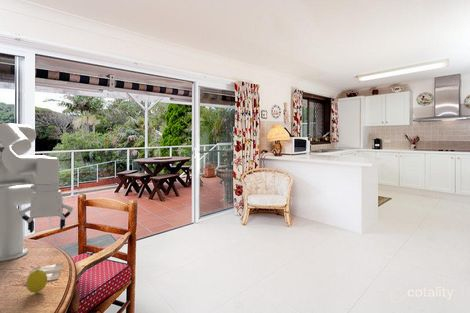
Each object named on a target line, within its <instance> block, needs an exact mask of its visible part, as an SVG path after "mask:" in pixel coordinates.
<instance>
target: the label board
mask: <svg viewBox="0 0 470 313" xmlns="http://www.w3.org/2000/svg"><path fill="white" fill-rule="evenodd" d="M63 265H64V262H59V263H55V264H49V265H43V266H38V267H33V268H32V270H31V271H30V273H29V275H30V274H31V273H32V272H34V271H36V270H42V271H44V272H45V273H46V275H47V283H48V282H53V281H58V280H59V278H60V275H61V271H62V268H63ZM26 283H27V279H26V280H25V282H24V284H23V287H27V286H26Z"/></svg>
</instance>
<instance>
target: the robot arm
mask: <svg viewBox="0 0 470 313" xmlns="http://www.w3.org/2000/svg"><path fill="white" fill-rule="evenodd" d="M36 138H37V131H36V130H35V128H34V127H32V126H31V125H29V124H21V123H8V122H5V123H3V122H2V123H0V148H3V150H2V151H1V150H0V262H5V261H11V260H15V259H17V258H20V257H21V258H22V257H23V256H25V255H26V254H27V253H28V251H29V249H28V248H27V247H24V228H25V227H24V225H25V224H24V222H26V223H27V230H28V231H29V233H30V234H31V233H33V232H34V231H35V221H34V219H38V218H39V219H40V218H41V219H42V218H50V217H51V218H53V217H59V218H60V223H59V229H60V230H63V229H64V228H65V227H66V218H68V217H69V216H70V215H71V213H72V212H73V210H74V207H73V206H70V205H68V204H65V203H64V202H63V201H64V200H63V194H62V190H60V159H59V158H58V157H54V156H48V155H24V154H26V153H28V152H29V151H30V150H31V149H32V143H33V142H34V141H35V140H36ZM28 204H30V206H28V207H25V208H24V209H21V210H20V209H19V208H18V207H19V206H23V205H28ZM64 209H66V210H67V212H65V213H64ZM27 212H29V216H30V217H29V216H28V215H27V214H26V213H27Z"/></svg>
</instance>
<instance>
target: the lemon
mask: <svg viewBox="0 0 470 313" xmlns="http://www.w3.org/2000/svg"><path fill="white" fill-rule="evenodd" d="M30 273H31V272H30ZM30 273H29V275H28V277H27V279H26V280H27V283H26V286H25V287H26V289H27V290H28V291H29V293H34V294H38V293H40V291H42V290H43V289H44V288H45V287H46V285H47V283H48V282H47V275H46V273H45V272H44V271H42V270H36V271H34V272H32V273H31V274H30Z"/></svg>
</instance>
